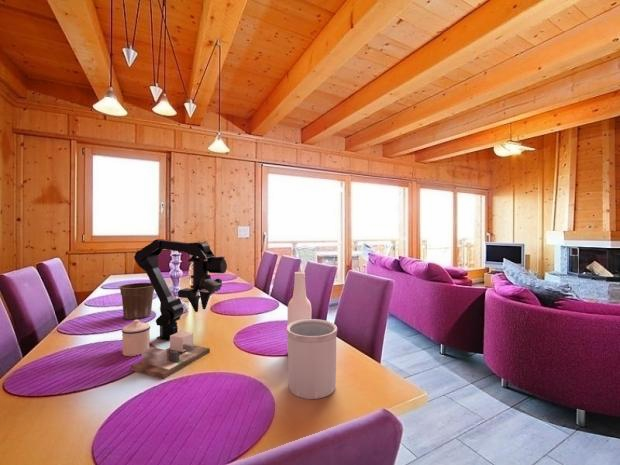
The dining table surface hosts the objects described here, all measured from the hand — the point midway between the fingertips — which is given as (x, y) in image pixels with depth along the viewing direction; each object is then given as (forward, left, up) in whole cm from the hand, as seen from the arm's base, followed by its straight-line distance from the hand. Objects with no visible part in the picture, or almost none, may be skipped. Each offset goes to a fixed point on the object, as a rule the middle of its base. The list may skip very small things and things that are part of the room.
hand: (200, 310), depth 120 cm
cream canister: (-15, -18, -12) cm, 26 cm away
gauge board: (+5, -19, -12) cm, 23 cm away
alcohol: (+43, +3, -12) cm, 45 cm away
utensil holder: (+55, -16, -12) cm, 59 cm away
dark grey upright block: (+8, -22, -10) cm, 25 cm away
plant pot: (-52, +13, -12) cm, 55 cm away
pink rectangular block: (+5, -13, -10) cm, 17 cm away
